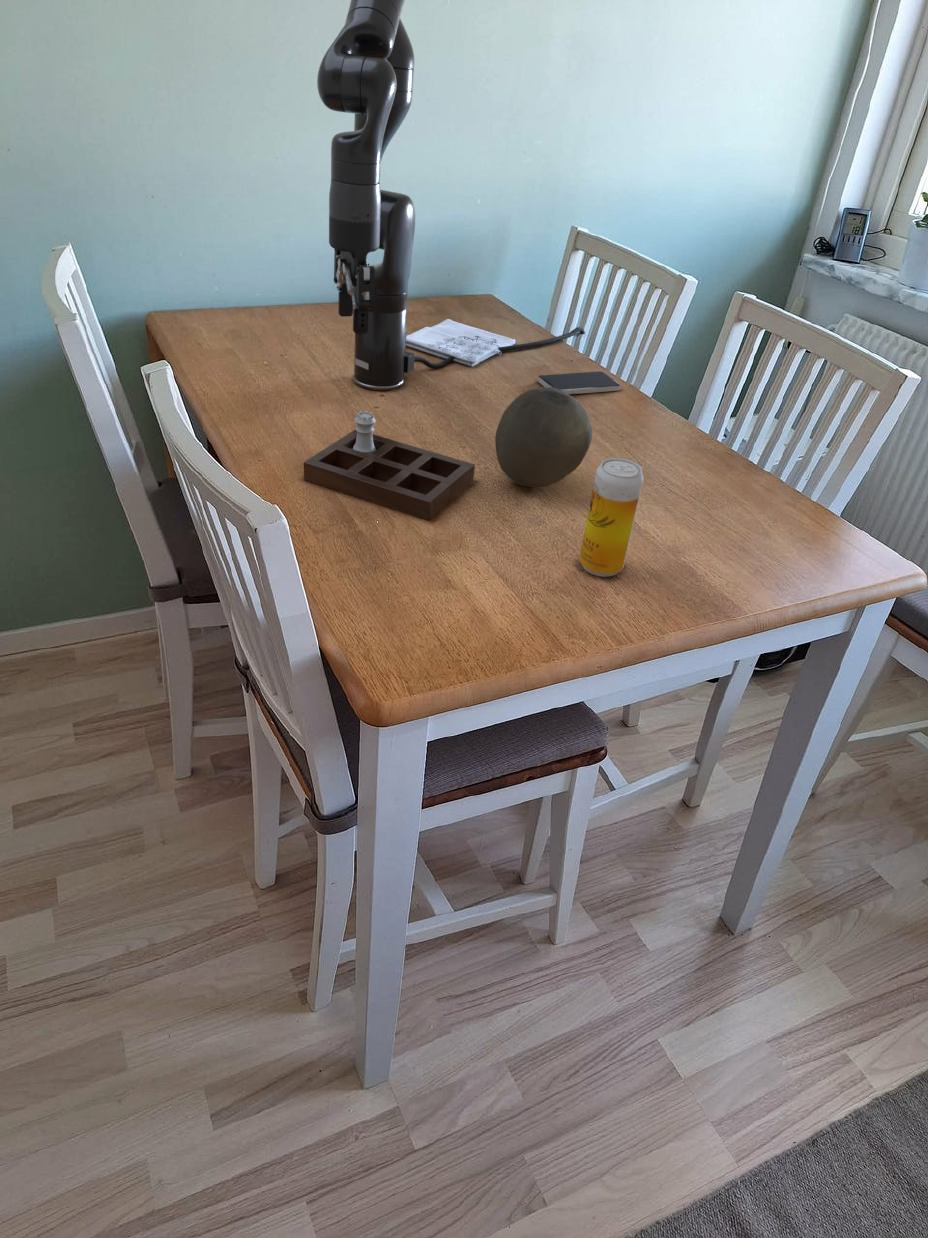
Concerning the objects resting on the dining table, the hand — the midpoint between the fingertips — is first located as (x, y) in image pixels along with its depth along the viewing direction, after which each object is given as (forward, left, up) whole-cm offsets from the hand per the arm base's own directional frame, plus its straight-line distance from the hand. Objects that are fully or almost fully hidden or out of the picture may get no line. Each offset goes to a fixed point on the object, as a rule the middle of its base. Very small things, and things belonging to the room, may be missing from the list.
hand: (352, 324), depth 141 cm
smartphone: (-45, +25, -18) cm, 54 cm away
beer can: (+18, +51, -18) cm, 57 cm away
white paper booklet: (-50, -4, -18) cm, 54 cm away
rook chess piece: (+9, +8, -18) cm, 22 cm away
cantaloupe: (0, +34, -18) cm, 38 cm away
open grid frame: (+13, +15, -18) cm, 26 cm away
